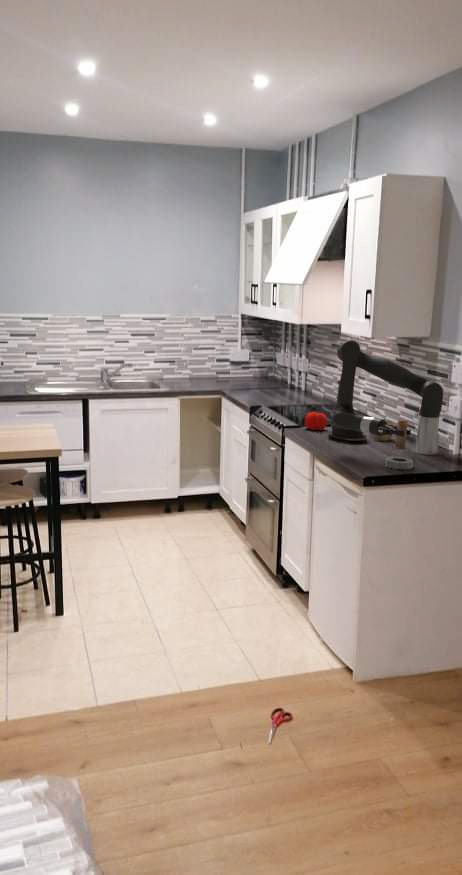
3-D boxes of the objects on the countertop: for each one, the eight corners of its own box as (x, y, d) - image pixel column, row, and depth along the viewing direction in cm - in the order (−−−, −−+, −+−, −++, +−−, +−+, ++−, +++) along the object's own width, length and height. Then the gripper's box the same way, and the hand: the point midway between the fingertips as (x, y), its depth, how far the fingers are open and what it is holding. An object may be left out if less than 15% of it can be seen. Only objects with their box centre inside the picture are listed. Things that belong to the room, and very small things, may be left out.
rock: (376, 437, 365) (396, 435, 366) (372, 422, 369) (392, 420, 369) (372, 446, 375) (391, 444, 376) (368, 431, 379) (388, 429, 379)
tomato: (328, 431, 387) (329, 414, 385) (305, 431, 387) (306, 413, 385) (325, 428, 397) (326, 411, 395) (303, 427, 397) (304, 410, 395)
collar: (406, 463, 323) (407, 457, 322) (415, 470, 312) (416, 463, 312) (382, 463, 322) (382, 456, 321) (390, 469, 311) (390, 462, 311)
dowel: (402, 447, 318) (405, 419, 315) (405, 449, 314) (409, 421, 311) (393, 447, 317) (396, 419, 315) (396, 449, 313) (399, 421, 311)
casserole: (376, 444, 362) (377, 427, 360) (341, 445, 356) (342, 427, 355) (352, 433, 385) (353, 417, 384) (319, 434, 379) (320, 418, 378)
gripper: (364, 419, 319) (398, 426, 306) (383, 416, 328) (417, 423, 316) (362, 436, 320) (396, 444, 308) (382, 433, 330) (415, 440, 318)
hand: (407, 433), depth 312 cm, fingers closed on dowel, 4 cm apart
